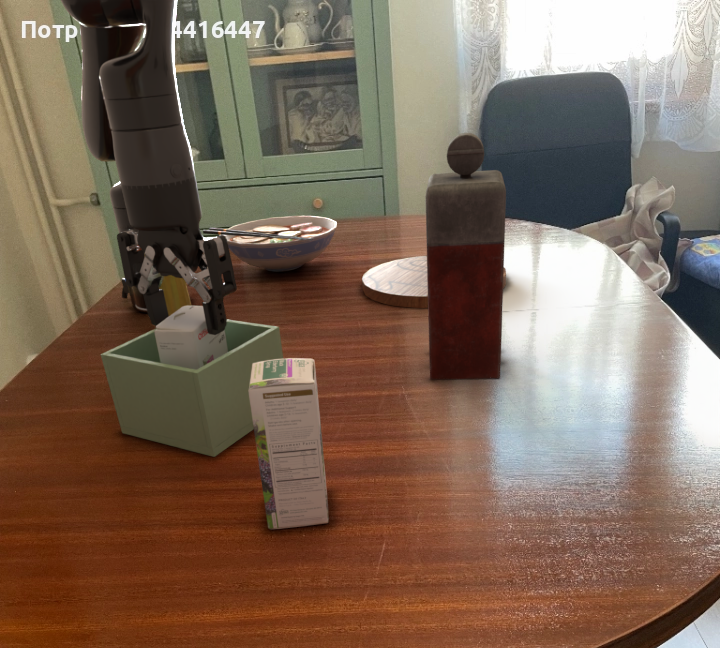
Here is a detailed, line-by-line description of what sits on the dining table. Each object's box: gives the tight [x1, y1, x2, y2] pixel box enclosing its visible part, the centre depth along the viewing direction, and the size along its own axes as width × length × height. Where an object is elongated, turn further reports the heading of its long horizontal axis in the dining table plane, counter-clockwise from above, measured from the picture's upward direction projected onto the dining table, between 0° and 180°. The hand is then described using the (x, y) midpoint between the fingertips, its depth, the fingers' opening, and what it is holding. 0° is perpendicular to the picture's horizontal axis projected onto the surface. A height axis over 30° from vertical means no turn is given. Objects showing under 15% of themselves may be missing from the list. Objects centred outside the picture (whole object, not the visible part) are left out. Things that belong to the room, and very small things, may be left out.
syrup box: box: [248, 357, 330, 530], centre depth 66 cm, size 6×6×14 cm
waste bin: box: [100, 318, 284, 458], centre depth 86 cm, size 14×14×10 cm
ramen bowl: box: [202, 215, 338, 273], centre depth 143 cm, size 25×23×8 cm
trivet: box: [361, 254, 507, 309], centre depth 127 cm, size 25×25×2 cm
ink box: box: [154, 305, 228, 370], centre depth 85 cm, size 9×5×12 cm, turn 168°
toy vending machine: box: [425, 132, 507, 381], centre depth 90 cm, size 9×11×28 cm
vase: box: [144, 254, 193, 316], centre depth 107 cm, size 6×6×14 cm
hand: (188, 328), depth 82 cm, fingers open, 8 cm apart
